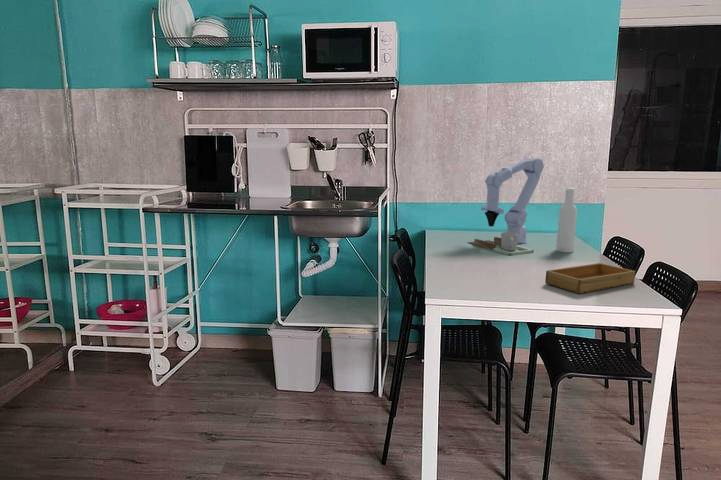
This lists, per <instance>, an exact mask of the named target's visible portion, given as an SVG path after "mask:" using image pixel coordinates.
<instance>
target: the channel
mask: <svg viewBox="0 0 721 480" xmlns="http://www.w3.org/2000/svg"><path fill="white" fill-rule="evenodd" d="M493 241H494V243H491V242H487V241H486V240H483V239H480V238H474V240H473V242H474V245H473V246H477V247H480V248H484V249H487V250H491V251H494V248H497V245H500V246H501V237H499V236H494V237H493Z"/></svg>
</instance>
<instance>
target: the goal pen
mask: <svg viewBox="0 0 721 480" xmlns="http://www.w3.org/2000/svg"><path fill="white" fill-rule="evenodd" d="M515 250H516V251H515ZM515 250H514V251H506V250H503V249H502V248H501V249H500V248H497V247H496V248H494V250H493V251H494V252H497V253H500V254H504V255H507V256H515V255H517V256H518V255H523V254H524V255H525V254H533V253H534V249H531V248H528V247H523V246H520V245H516V249H515Z"/></svg>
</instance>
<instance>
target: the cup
mask: <svg viewBox="0 0 721 480" xmlns="http://www.w3.org/2000/svg"><path fill="white" fill-rule="evenodd" d="M500 238H501V245H500V248H501V250H505V251H508V252H515V250H517V249H516V246H518V245H517V239H518V234H517V233H512V232H507V231H504V232H501V233H500Z"/></svg>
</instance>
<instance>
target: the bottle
mask: <svg viewBox="0 0 721 480" xmlns="http://www.w3.org/2000/svg"><path fill="white" fill-rule="evenodd" d="M574 197H575V188H573V187H567V188H566V189H565V198H564V203H563V204H561V206H560V208H559V210H558V211H559V212H558V222H557V232H556V233H557V234H556V245H555V250H556V252H560V253H564V254H565V253H573V252H574V250H575V249H574V248H575V237H576V228H577V227H576V225H577V218H578V217H577V216H578V209H577V206H576V205H575V204H574V199H575V198H574Z"/></svg>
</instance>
